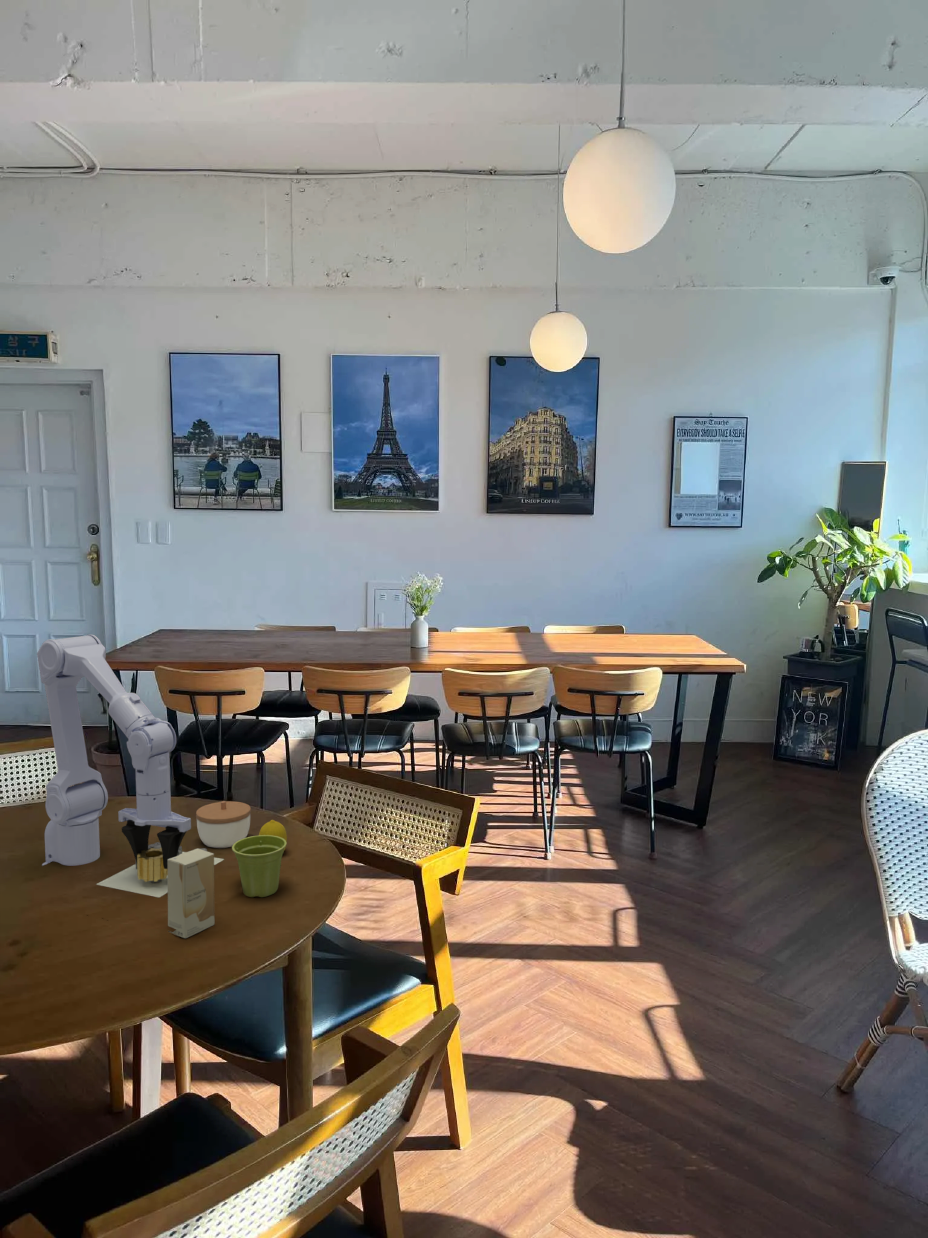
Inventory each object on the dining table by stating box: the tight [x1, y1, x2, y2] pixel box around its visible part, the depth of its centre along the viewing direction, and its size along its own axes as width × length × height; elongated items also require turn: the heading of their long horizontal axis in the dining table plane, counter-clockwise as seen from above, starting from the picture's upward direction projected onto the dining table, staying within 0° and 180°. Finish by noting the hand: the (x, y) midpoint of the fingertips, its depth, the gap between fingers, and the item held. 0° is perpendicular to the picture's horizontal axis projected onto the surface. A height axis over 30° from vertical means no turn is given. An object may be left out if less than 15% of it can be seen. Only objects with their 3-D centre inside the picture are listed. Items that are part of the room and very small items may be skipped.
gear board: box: [95, 845, 225, 898], centre depth 154 cm, size 14×18×5 cm
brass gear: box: [137, 848, 168, 882], centre depth 149 cm, size 6×6×4 cm
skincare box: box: [167, 848, 215, 939], centre depth 135 cm, size 6×4×12 cm
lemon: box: [258, 819, 288, 851], centre depth 163 cm, size 6×6×8 cm
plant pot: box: [231, 834, 287, 898], centre depth 149 cm, size 9×9×9 cm
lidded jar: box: [195, 800, 252, 849], centre depth 170 cm, size 11×11×9 cm
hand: (155, 864), depth 150 cm, fingers closed on brass gear, 6 cm apart
